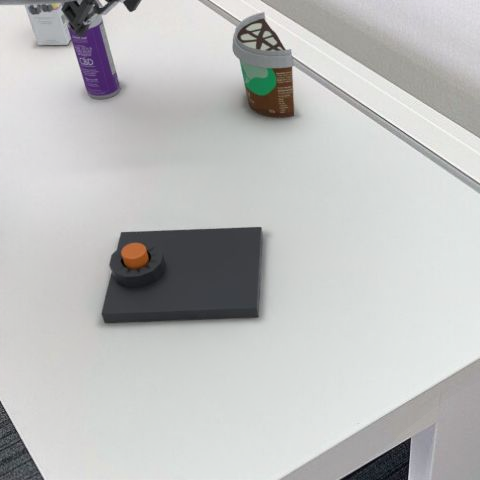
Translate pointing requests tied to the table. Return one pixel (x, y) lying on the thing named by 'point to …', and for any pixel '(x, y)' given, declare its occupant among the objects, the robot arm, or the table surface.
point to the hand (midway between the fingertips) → (102, 17)
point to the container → (95, 60)
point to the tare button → (135, 255)
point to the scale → (187, 276)
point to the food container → (264, 67)
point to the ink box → (48, 24)
